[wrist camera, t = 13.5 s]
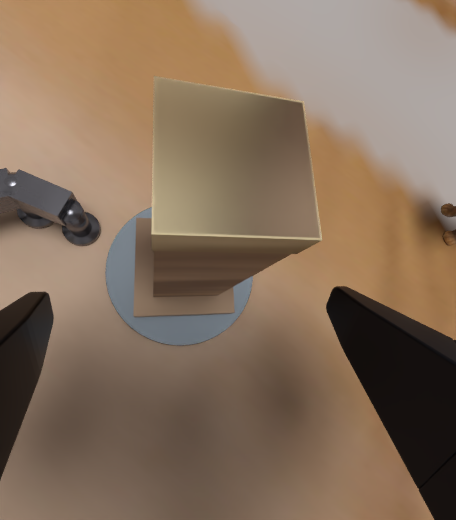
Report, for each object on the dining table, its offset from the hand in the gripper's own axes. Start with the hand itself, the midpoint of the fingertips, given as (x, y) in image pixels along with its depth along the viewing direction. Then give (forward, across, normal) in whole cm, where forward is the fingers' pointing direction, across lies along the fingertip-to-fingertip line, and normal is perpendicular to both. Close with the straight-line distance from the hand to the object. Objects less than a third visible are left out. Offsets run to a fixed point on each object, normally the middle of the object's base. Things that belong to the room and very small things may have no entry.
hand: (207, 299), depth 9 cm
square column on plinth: (+8, 0, +4) cm, 9 cm away
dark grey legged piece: (+10, +9, +2) cm, 14 cm away
